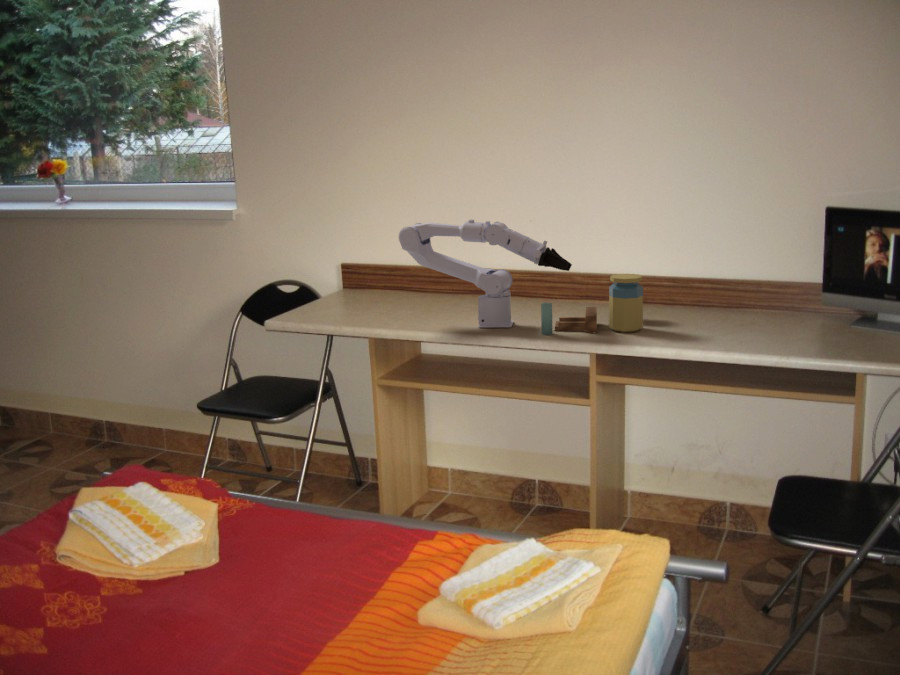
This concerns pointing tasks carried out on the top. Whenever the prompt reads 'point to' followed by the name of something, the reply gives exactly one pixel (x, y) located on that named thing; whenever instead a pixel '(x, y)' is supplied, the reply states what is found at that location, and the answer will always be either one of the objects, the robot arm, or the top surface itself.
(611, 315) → the jar
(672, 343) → the top surface
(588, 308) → the cradle
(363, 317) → the top surface
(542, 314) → the peg
